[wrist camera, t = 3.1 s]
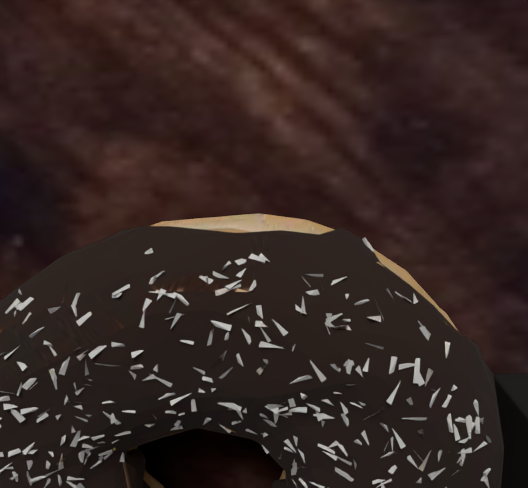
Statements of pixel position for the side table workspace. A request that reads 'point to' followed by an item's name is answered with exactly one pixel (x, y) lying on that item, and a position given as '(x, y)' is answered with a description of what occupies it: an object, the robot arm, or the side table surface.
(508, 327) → the side table surface
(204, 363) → the donut
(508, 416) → the robot arm
